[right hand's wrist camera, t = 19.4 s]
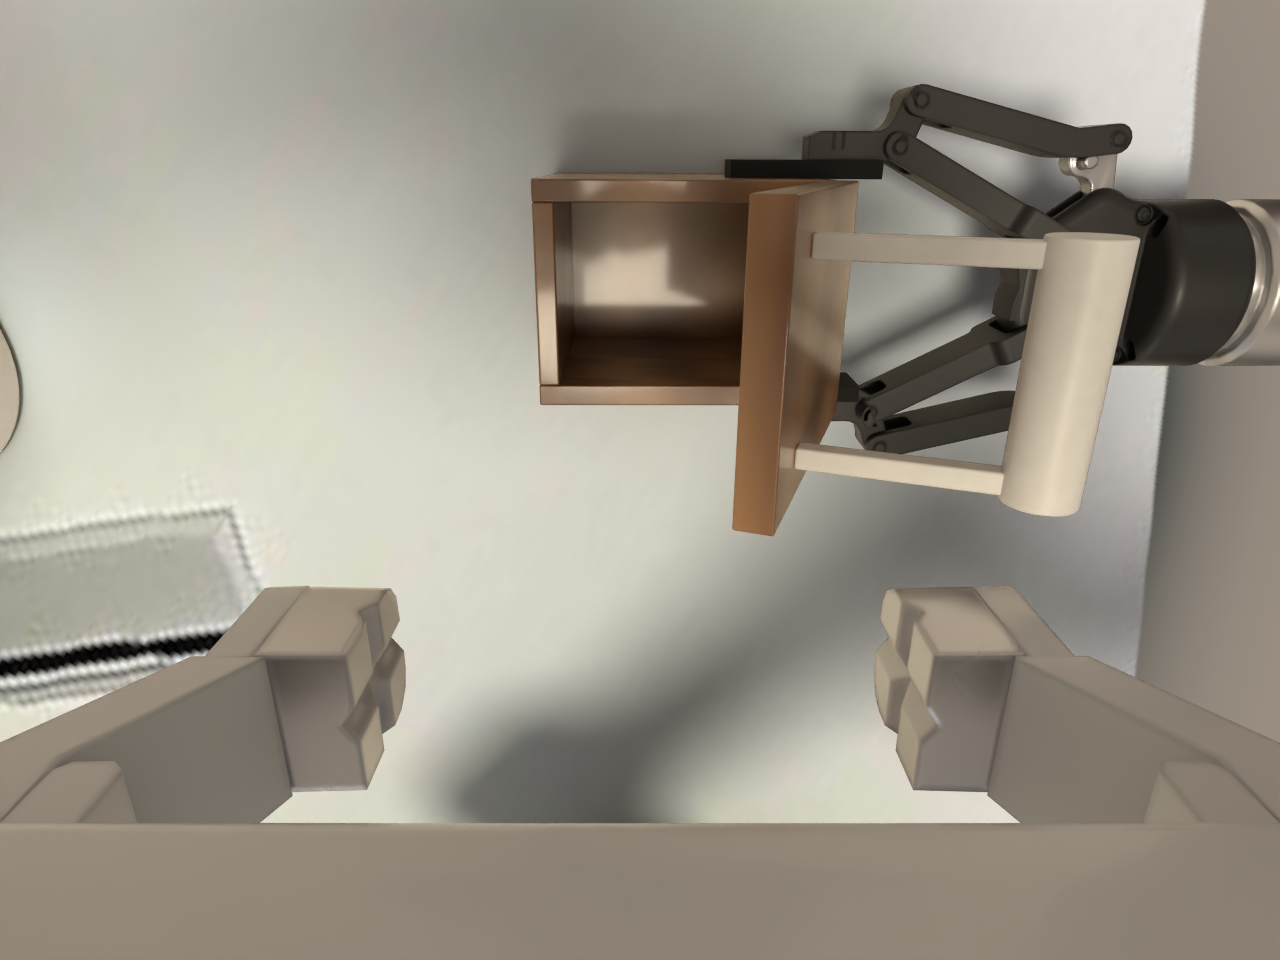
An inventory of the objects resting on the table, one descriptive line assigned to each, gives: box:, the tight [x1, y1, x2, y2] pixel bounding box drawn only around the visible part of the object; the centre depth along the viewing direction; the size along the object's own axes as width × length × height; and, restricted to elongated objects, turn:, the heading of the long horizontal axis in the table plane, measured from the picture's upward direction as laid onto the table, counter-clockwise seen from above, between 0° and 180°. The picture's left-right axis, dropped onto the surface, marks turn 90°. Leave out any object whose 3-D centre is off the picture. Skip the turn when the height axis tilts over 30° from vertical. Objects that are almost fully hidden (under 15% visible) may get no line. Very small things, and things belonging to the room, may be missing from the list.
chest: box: [531, 173, 837, 405], centre depth 39 cm, size 12×9×11 cm
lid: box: [732, 181, 1140, 536], centre depth 26 cm, size 13×9×9 cm
